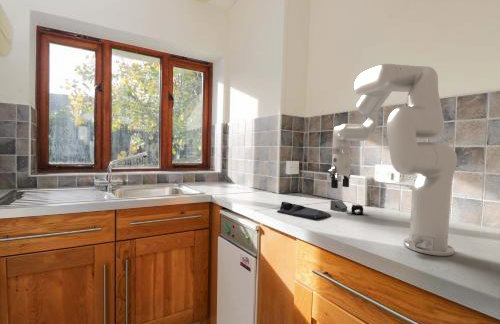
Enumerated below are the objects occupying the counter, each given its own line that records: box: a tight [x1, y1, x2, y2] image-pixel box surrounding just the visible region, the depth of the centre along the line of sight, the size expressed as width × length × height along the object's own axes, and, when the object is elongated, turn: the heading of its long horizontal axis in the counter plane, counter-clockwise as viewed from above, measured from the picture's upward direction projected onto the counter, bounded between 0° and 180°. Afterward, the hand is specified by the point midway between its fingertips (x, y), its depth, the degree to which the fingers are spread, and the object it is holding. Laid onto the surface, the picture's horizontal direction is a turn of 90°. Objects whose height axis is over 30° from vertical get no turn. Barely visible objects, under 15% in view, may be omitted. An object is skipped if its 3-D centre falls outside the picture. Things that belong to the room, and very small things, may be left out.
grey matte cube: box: [329, 199, 348, 213], centre depth 130 cm, size 5×6×5 cm
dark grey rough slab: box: [276, 201, 332, 220], centre depth 121 cm, size 15×22×5 cm
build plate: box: [345, 204, 369, 216], centre depth 123 cm, size 12×7×5 cm, turn 95°
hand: (340, 187), depth 129 cm, fingers open, 9 cm apart
